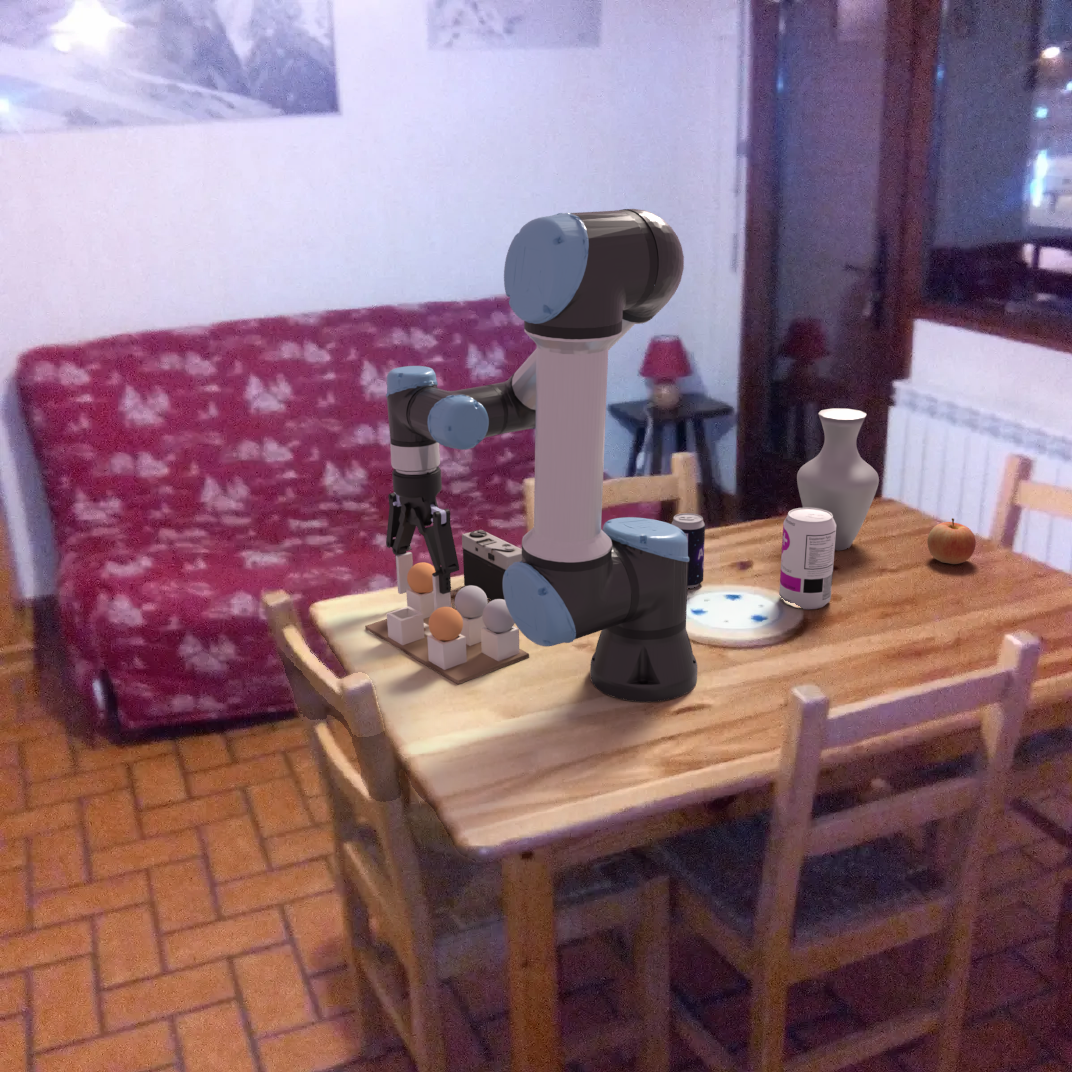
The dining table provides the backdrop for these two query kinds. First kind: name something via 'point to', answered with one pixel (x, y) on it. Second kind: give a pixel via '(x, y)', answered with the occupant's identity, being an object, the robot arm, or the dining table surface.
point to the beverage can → (693, 544)
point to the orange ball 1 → (421, 577)
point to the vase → (839, 475)
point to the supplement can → (807, 557)
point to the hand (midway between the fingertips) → (424, 600)
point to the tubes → (448, 654)
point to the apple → (951, 542)
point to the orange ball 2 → (445, 623)
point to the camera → (487, 561)
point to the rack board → (458, 674)
